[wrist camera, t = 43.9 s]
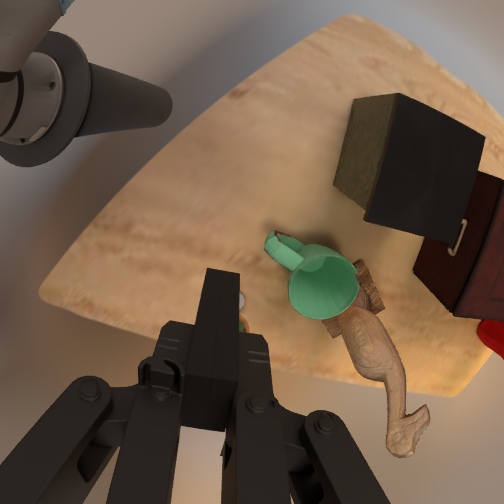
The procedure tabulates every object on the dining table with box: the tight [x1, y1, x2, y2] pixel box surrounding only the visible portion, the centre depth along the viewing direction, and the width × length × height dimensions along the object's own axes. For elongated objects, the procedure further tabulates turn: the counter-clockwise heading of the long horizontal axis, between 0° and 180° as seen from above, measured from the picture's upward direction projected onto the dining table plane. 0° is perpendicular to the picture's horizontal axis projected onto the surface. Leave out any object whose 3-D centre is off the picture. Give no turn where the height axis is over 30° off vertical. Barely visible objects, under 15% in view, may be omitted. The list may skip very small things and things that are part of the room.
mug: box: [264, 230, 359, 320], centre depth 44 cm, size 15×10×10 cm
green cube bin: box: [333, 93, 396, 210], centre depth 37 cm, size 14×14×14 cm
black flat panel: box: [363, 93, 486, 245], centre depth 30 cm, size 15×14×1 cm
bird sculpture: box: [321, 260, 430, 458], centre depth 38 cm, size 11×12×32 cm
